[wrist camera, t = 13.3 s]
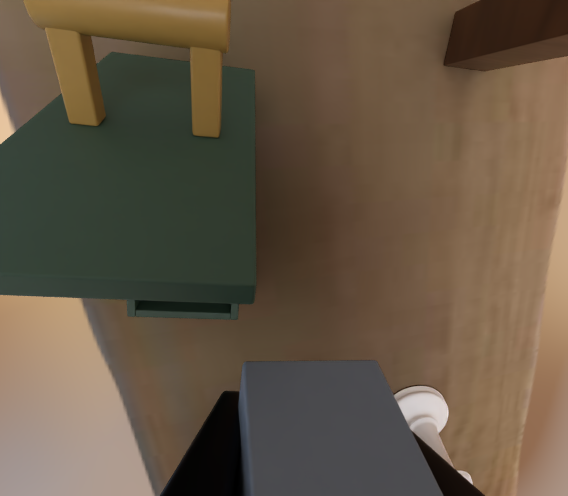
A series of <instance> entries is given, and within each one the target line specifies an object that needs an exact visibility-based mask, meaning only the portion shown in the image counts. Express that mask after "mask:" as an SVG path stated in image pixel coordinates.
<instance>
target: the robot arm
mask: <svg viewBox="0 0 568 496" xmlns="http://www.w3.org/2000/svg"><path fill="white" fill-rule="evenodd" d="M239 394H240V392H239V391H224V392H223V393H222V394H221V396H220V397H219V399H218V401H217V402H216V404H215V406H214V407H213V409H212V411H211V412H210V414H209V416H208V417H207V419H206V421H205V422H204V424H203V426H202V427H201V429H200V430H199V432H198V434H197V435H196V437H195V439H194V440H193V442H192V444H191V445H190V447H189V449H188V450H187V452H186V454H185V455H184V457H183V459H182V460H181V462H180V464H179V465H178V467H177V469H176V470H175V472H174V473H173V475H172V477H171V478H170V480H169V482H168V483H167V485H166V487H165V488H164V490H163V492H162V493H161V495H160V496H235V490H236V481H237V471H238V462H239V452H240V443H241V437H240V423H239V412H238V403H239ZM411 431H412V430H411ZM412 433H413V435H414V437H415V439H416V441H417V443H418V445H419V447H420V449H421V451H422V453H423V456H424V458H425V460H426V462H427V464H428V466H429V468H430V470H431V472H432V474H433V476H434V478H435V480H436V482H437V484H438V486H439V488H440V490H441V492H442V494H443V496H485V495H484V494H482V493H481V492H480V491H479V490H478V489H477V488H476V487H475V486H473V485H472V484H471V483H470V482H469V481H468V480H467V479H466V478H464V477H463V476H462V475H461V474H460V473H459V472H458V471H457V470H455V469H454V468H453V467H452V466H451V465H450V464H449V463H448V462H446V461H445V460H444V459H443V458H442V457H441V456H440V455H439V454H438V453H436V452H435V451H434V450H433V449H432V448H431V447H430V446H429V445H427V444H426V443H425V442H424V441H423V440H422V439H421V438H420V437H418V436H417V435H416V434H415V433H414V432H413V431H412Z"/></svg>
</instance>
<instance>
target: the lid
mask: <svg viewBox="0 0 568 496" xmlns="http://www.w3.org/2000/svg"><path fill="white" fill-rule="evenodd" d="M23 1H24V4H25V7H26V10H27V12H28V14H29V16H30V18H31V19H32V21H33V22H34V23H35V24H36V25H37V26H38V27H39V28H41V29H44V30H45V31H46V34H47V38H48V42H49V46H50V50H51V54H52V58H53V61H54V65H55V69H56V73H57V77H58V81H59V84H60V88H61V92H62V93H61V94H60V95H59V96H58V97H57V98H55V99H54V100H53V101H52V102H51V103H49V104H48V105H47V106H46V107H45V108H43V109H42V110H41V111H40V112H39V113H37V114H36V115H35V116H34V117H33V118H31V119H30V120H29V121H28V122H27V123H25V124H24V125H23V126H22V127H21V128H19V129H18V130H17V131H16V132H15V133H14V134H12V135H11V136H10V137H9V138H7V139H6V140H5V141H4V142H3V143H2V144H0V295H17V296H43V297H72V298H96V299H122V300H149V301H175V302H201V303H228V304H253V303H254V301H255V293H256V158H255V70H251V69H243V68H235V67H227V66H222V59H223V53H228V50H229V40H230V20H231V0H23ZM91 36H97V37H105V38H112V39H120V40H128V41H135V42H143V43H150V44H158V45H166V46H173V47H181V48H188V49H190V62H188V61H180V60H172V59H164V58H156V57H148V56H140V55H132V54H124V53H116V52H111V53H109V54H108V55H107V56H106V57H105V58H103V59H102V60H101V61H100V62H99V63H97V64H96V61H95V56H94V50H93V45H92V40H91Z"/></svg>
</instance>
